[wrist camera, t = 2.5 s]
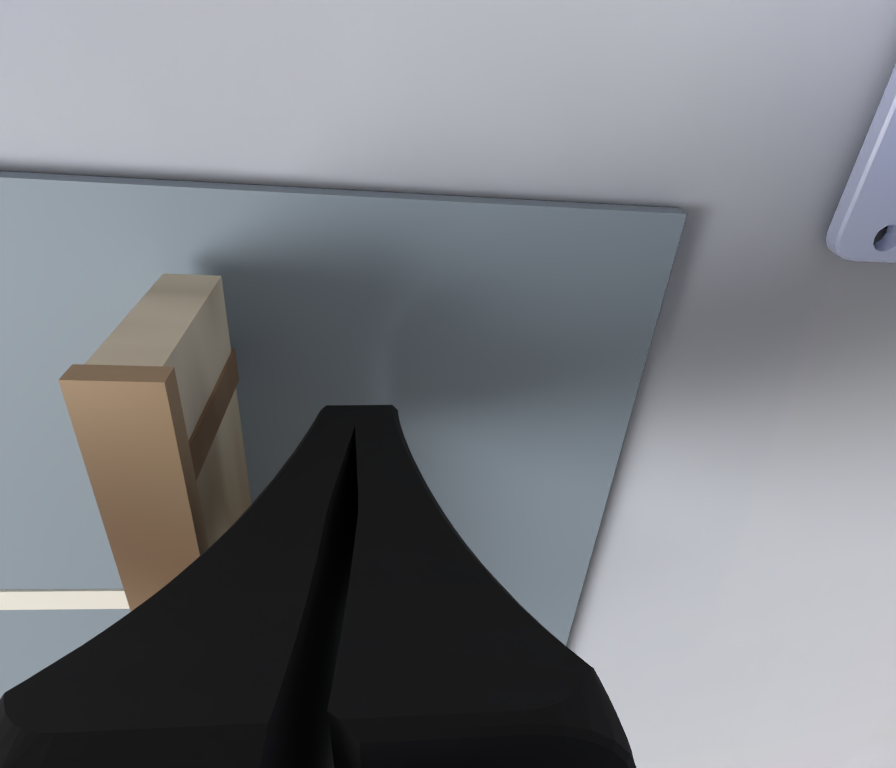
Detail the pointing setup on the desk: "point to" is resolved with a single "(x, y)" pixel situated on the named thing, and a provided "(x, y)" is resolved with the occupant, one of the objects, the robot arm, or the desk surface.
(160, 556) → the fence panel
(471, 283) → the board
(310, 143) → the desk surface
